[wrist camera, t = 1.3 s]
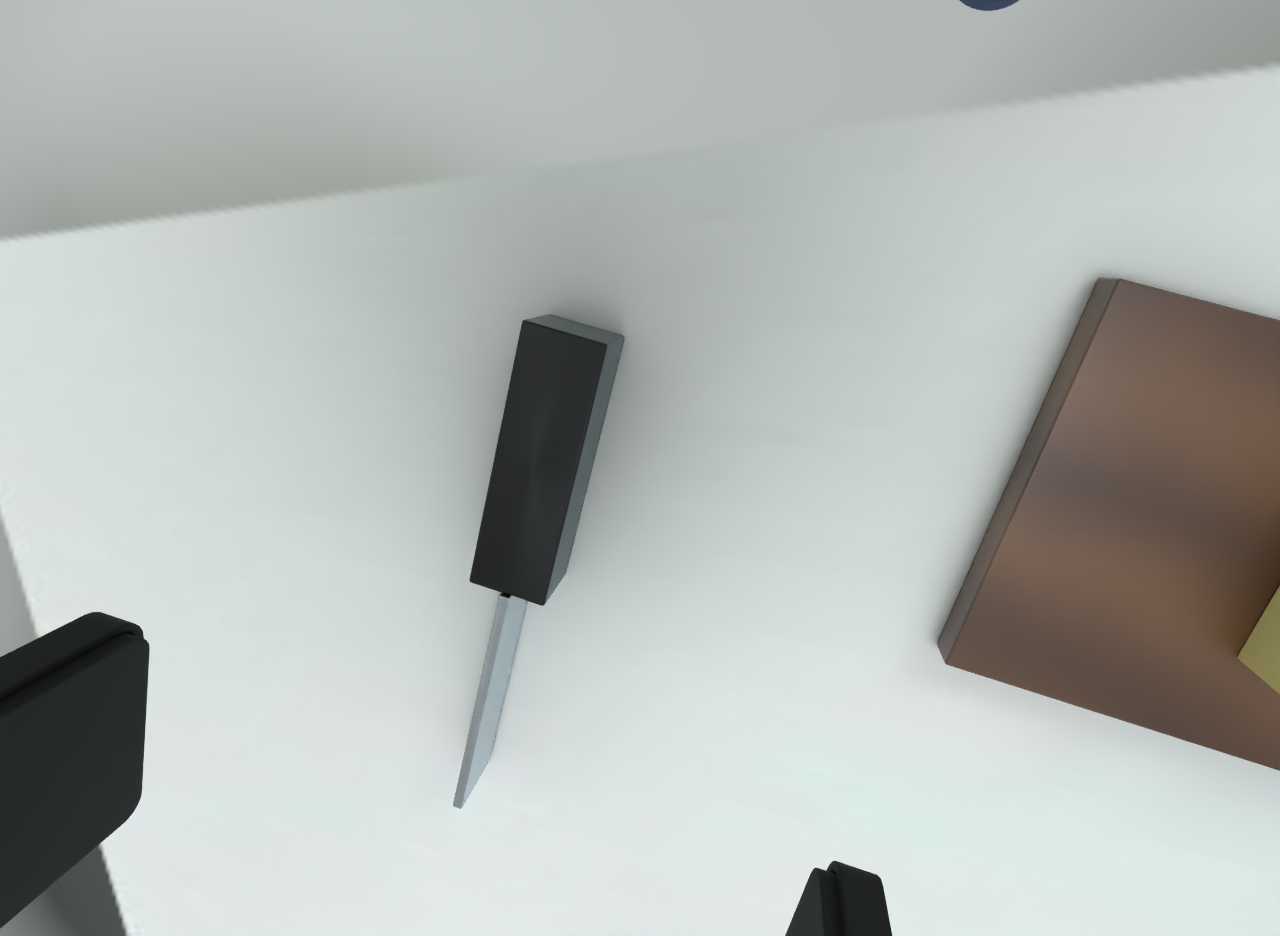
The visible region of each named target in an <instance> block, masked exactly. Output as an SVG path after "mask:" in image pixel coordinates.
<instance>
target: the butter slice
mask: <svg viewBox="0 0 1280 936" xmlns="http://www.w3.org/2000/svg"><path fill="white" fill-rule="evenodd" d="M1237 658H1238V659H1239V660H1240V661H1241V662H1242V663H1244V664H1245V665H1246V666H1247V667H1248V668H1249V669H1251V670H1252V671H1253V672H1254V673H1255V674H1257V675H1258V676H1259V677H1260V678H1261V679H1262V680H1264V681H1265V682H1266V683H1267V684H1268V685H1269V686H1271V687H1272V688H1273V689H1274V690H1275V691H1276V692H1278V693H1279V694H1280V585H1279V587H1278V589H1277V591H1276V592H1275V594H1274V596H1273V597H1272V599H1271V601H1270V602H1269V604H1268V606H1267V607H1266V609H1265V611H1264V612H1263V614H1262V616H1261V617H1260V619H1259V621H1258V623H1257V624H1256V626H1255V628H1254V629H1253V631H1252V633H1251V634H1250V636H1249V638H1248V639H1247V641H1246V643H1245V644H1244V646H1243V648H1242V649H1241V651H1240V653H1239V655H1238V657H1237Z"/></svg>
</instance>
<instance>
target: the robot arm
mask: <svg viewBox="0 0 1280 936" xmlns="http://www.w3.org/2000/svg"><path fill="white" fill-rule="evenodd" d="M148 666H149V644H148V642H147V640H145V639H144V637H143V631H142V629H141V628H140V626H138V625H136V624H134V623H131V622H128V621H125V620H122V619H119V618H116V617H113V616H110V615H107V614H104V613H101V612H92V613H89V614H86V615H84V616H82V617H80V618H78V619H76V620H74V621H72V622H70V623H68V624H66V625H64V626H62V627H60V628H58V629H56V630H54V631H52V632H50V633H48V634H46V635H44V636H42V637H40V638H38V639H36V640H34V641H32V642H30V643H28V644H26V645H24V646H22V647H20V648H18V649H16V650H14V651H12V652H10V653H8V654H6V655H4V656H2V657H0V928H1V927H3V926H4V925H5V924H6V923H7V922H9V921H10V920H11V919H12V918H13V917H14V916H16V915H17V914H18V913H19V912H20V911H21V910H22V909H24V908H25V907H26V906H27V905H28V904H30V903H31V902H32V901H33V900H34V899H35V898H37V896H39V895H40V894H41V893H42V892H43V891H45V890H46V889H47V888H48V887H49V886H51V885H52V884H53V883H54V882H55V881H57V880H58V879H59V878H60V877H61V876H62V875H64V874H65V873H66V872H67V871H68V870H69V869H70V868H72V867H73V866H74V865H75V864H76V863H78V862H79V861H80V860H81V859H82V858H83V857H85V856H86V855H87V854H88V853H89V852H90V851H92V850H93V849H94V848H95V847H96V846H97V845H99V844H100V843H101V842H102V841H103V840H105V839H106V838H107V837H108V836H109V835H110V834H112V833H113V832H114V831H115V830H116V829H117V828H119V827H120V826H121V825H122V824H123V823H124V822H125V821H126V820H127V819H128V818H129V817H130V816H131V814H132V813H133V812H134V810H135V808H136V807H137V805H138V803H139V800H140V798H141V793H142V778H143V759H144V741H145V722H146V703H147V685H148ZM785 936H892V932H891V927H890V921H889V916H888V911H887V905H886V900H885V894H884V889H883V885H882V881H881V879H880V877H879V876H878V875H876V874H873V873H870V872H867V871H864V870H861V869H858V868H855V867H852V866H849V865H846V864H843V863H840V862H837V861H833V862H832V863H831V864H830V865H829V867H828V869H827V871H825V870H822V869H819V868H814V869H813V870H812V872H811V874H810V877H809V879H808V882H807V884H806V886H805V889H804V891H803V894H802V896H801V899H800V901H799V904H798V906H797V908H796V911H795V913H794V916H793V918H792V921H791V923H790V926H789V928H788V930H787V933H786V935H785Z"/></svg>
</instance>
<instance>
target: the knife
mask: <svg viewBox="0 0 1280 936" xmlns="http://www.w3.org/2000/svg"><path fill="white" fill-rule="evenodd" d="M623 342H624V336H623V335H620V334H616V333H613V332H609V331H606V330H602V329H599V328H595V327H592V326H588V325H585V324H581V323H578V322H575V321H571V320H568V319H564V318H561V317H557V316H554V315H545V316H541V317H536V318H532V319H527V320H523V322H522V326H521V331H520V336H519V341H518V345H517V350H516V355H515V360H514V365H513V370H512V375H511V380H510V385H509V389H508V394H507V399H506V404H505V409H504V414H503V419H502V424H501V428H500V433H499V438H498V443H497V448H496V453H495V458H494V463H493V468H492V472H491V477H490V482H489V487H488V492H487V497H486V502H485V507H484V512H483V516H482V521H481V526H480V531H479V536H478V541H477V546H476V551H475V555H474V560H473V565H472V570H471V575H470V582H472V583H475V584H478V585H481V586H484V587H487V588H490V589H493V590H496V591H499V592H502V593H501V594H500V595H499V598H498V603H497V608H496V612H495V617H494V621H493V626H492V630H491V635H490V639H489V644H488V648H487V653H486V657H485V662H484V666H483V671H482V676H481V680H480V685H479V689H478V694H477V698H476V703H475V707H474V712H473V716H472V721H471V725H470V730H469V734H468V739H467V744H466V748H465V753H464V757H463V762H462V766H461V771H460V775H459V780H458V784H457V789H456V793H455V798H454V803H453V806H454V807H457V808H460V809H461V808H462V807H463V805H464V804H465V802H466V800H467V798H468V797H469V795H470V793H471V791H472V790H473V788H474V786H475V785H476V783H477V781H478V779H479V778H480V776H481V774H482V772H483V771H484V769H485V767H486V765H487V764H488V762H489V760H490V757H491V753H492V749H493V745H494V740H495V736H496V732H497V728H498V723H499V719H500V715H501V711H502V706H503V702H504V698H505V693H506V689H507V685H508V681H509V676H510V672H511V668H512V664H513V659H514V655H515V651H516V647H517V642H518V638H519V634H520V630H521V625H522V621H523V617H524V613H525V608H526V604H527V601H529V602H532V603H536V604H539V605H542V606H543V605H545V603H546V602H547V600H548V599H549V597H550V596H551V594H552V593H553V591H554V590H555V588H556V587H557V586H558V584H559V583H560V581H561V580H562V578H563V577H564V575H565V574H566V570H567V566H568V562H569V558H570V554H571V550H572V546H573V542H574V538H575V534H576V530H577V526H578V522H579V518H580V514H581V510H582V506H583V502H584V498H585V494H586V490H587V486H588V482H589V478H590V474H591V470H592V466H593V462H594V458H595V454H596V450H597V446H598V442H599V438H600V434H601V430H602V426H603V422H604V418H605V414H606V410H607V406H608V402H609V398H610V394H611V390H612V386H613V382H614V378H615V374H616V370H617V366H618V362H619V358H620V354H621V350H622V346H623Z"/></svg>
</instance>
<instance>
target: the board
mask: <svg viewBox="0 0 1280 936" xmlns="http://www.w3.org/2000/svg"><path fill="white" fill-rule="evenodd" d="M1279 585H1280V320H1276V319H1272V318H1268V317H1265V316H1261V315H1257V314H1253V313H1249V312H1245V311H1242V310H1238V309H1234V308H1230V307H1226V306H1223V305H1219V304H1215V303H1211V302H1207V301H1203V300H1200V299H1196V298H1192V297H1188V296H1184V295H1180V294H1177V293H1173V292H1169V291H1165V290H1161V289H1158V288H1154V287H1150V286H1146V285H1142V284H1138V283H1135V282H1131V281H1127V280H1123V279H1114V278H1099V279H1098V281H1097V283H1096V286H1095V288H1094V290H1093V292H1092V295H1091V297H1090V299H1089V301H1088V304H1087V306H1086V308H1085V311H1084V313H1083V315H1082V317H1081V320H1080V322H1079V324H1078V326H1077V329H1076V331H1075V333H1074V335H1073V338H1072V340H1071V342H1070V344H1069V347H1068V349H1067V351H1066V354H1065V356H1064V358H1063V360H1062V363H1061V365H1060V367H1059V369H1058V372H1057V374H1056V376H1055V378H1054V381H1053V383H1052V385H1051V387H1050V390H1049V392H1048V394H1047V397H1046V399H1045V401H1044V403H1043V406H1042V408H1041V410H1040V412H1039V415H1038V417H1037V419H1036V421H1035V424H1034V426H1033V428H1032V430H1031V433H1030V435H1029V437H1028V439H1027V442H1026V444H1025V446H1024V449H1023V451H1022V453H1021V455H1020V458H1019V460H1018V462H1017V464H1016V467H1015V469H1014V471H1013V473H1012V476H1011V478H1010V480H1009V482H1008V485H1007V487H1006V489H1005V492H1004V494H1003V496H1002V498H1001V501H1000V503H999V505H998V507H997V510H996V512H995V514H994V516H993V519H992V521H991V523H990V525H989V528H988V530H987V532H986V534H985V537H984V539H983V541H982V544H981V546H980V548H979V550H978V553H977V555H976V557H975V559H974V562H973V564H972V566H971V568H970V571H969V573H968V575H967V577H966V580H965V582H964V584H963V587H962V589H961V591H960V593H959V596H958V598H957V600H956V602H955V605H954V607H953V609H952V611H951V614H950V616H949V618H948V620H947V623H946V625H945V627H944V629H943V632H942V634H941V636H940V639H939V641H938V643H937V645H938V648H939V650H940V652H941V655H942V657H943V659H944V662H945V664H947V665H950V666H953V667H956V668H959V669H962V670H966V671H969V672H972V673H975V674H978V675H981V676H984V677H987V678H991V679H994V680H997V681H1000V682H1003V683H1006V684H1009V685H1013V686H1016V687H1019V688H1022V689H1025V690H1028V691H1031V692H1035V693H1038V694H1041V695H1044V696H1047V697H1050V698H1053V699H1057V700H1060V701H1063V702H1066V703H1069V704H1072V705H1075V706H1079V707H1082V708H1085V709H1088V710H1091V711H1094V712H1097V713H1101V714H1104V715H1107V716H1110V717H1113V718H1116V719H1119V720H1123V721H1126V722H1129V723H1132V724H1135V725H1138V726H1141V727H1145V728H1148V729H1151V730H1154V731H1157V732H1160V733H1163V734H1167V735H1170V736H1173V737H1176V738H1179V739H1182V740H1185V741H1188V742H1192V743H1195V744H1198V745H1201V746H1204V747H1207V748H1210V749H1214V750H1217V751H1220V752H1223V753H1226V754H1229V755H1232V756H1236V757H1239V758H1242V759H1245V760H1248V761H1251V762H1254V763H1258V764H1261V765H1264V766H1267V767H1270V768H1273V769H1276V770H1280V694H1279V693H1278V692H1276V691H1275V690H1274V689H1273V688H1272V687H1271V686H1269V685H1268V684H1267V683H1266V682H1265V681H1264V680H1262V679H1261V678H1260V677H1259V676H1258V675H1257V674H1255V673H1254V672H1253V671H1252V670H1251V669H1249V668H1248V667H1247V666H1246V665H1245V664H1244V663H1242V662H1241V661H1240V660H1239V659H1238V658H1237V657H1238V655H1239V653H1240V651H1241V649H1242V648H1243V646H1244V644H1245V643H1246V641H1247V639H1248V638H1249V636H1250V634H1251V633H1252V631H1253V629H1254V628H1255V626H1256V624H1257V623H1258V621H1259V619H1260V617H1261V616H1262V614H1263V612H1264V611H1265V609H1266V607H1267V606H1268V604H1269V602H1270V601H1271V599H1272V597H1273V596H1274V594H1275V592H1276V591H1277V589H1278V587H1279Z"/></svg>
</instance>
